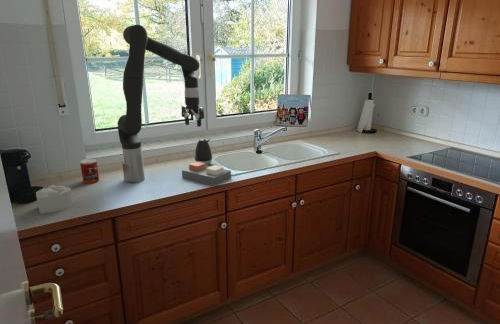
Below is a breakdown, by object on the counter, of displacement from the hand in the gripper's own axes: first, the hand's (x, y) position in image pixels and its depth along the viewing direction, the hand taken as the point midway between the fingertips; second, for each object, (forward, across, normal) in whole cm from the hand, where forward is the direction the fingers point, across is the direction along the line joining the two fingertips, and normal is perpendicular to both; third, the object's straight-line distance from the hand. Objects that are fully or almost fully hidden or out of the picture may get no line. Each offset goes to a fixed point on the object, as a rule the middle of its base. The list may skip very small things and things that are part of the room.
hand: (193, 125), depth 202 cm
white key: (+20, +24, -12) cm, 34 cm away
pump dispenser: (+23, +3, +4) cm, 24 cm away
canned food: (+24, -29, -47) cm, 60 cm away
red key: (+20, +12, -12) cm, 27 cm away
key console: (+23, +18, -12) cm, 32 cm away
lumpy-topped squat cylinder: (+25, -14, -74) cm, 79 cm away
